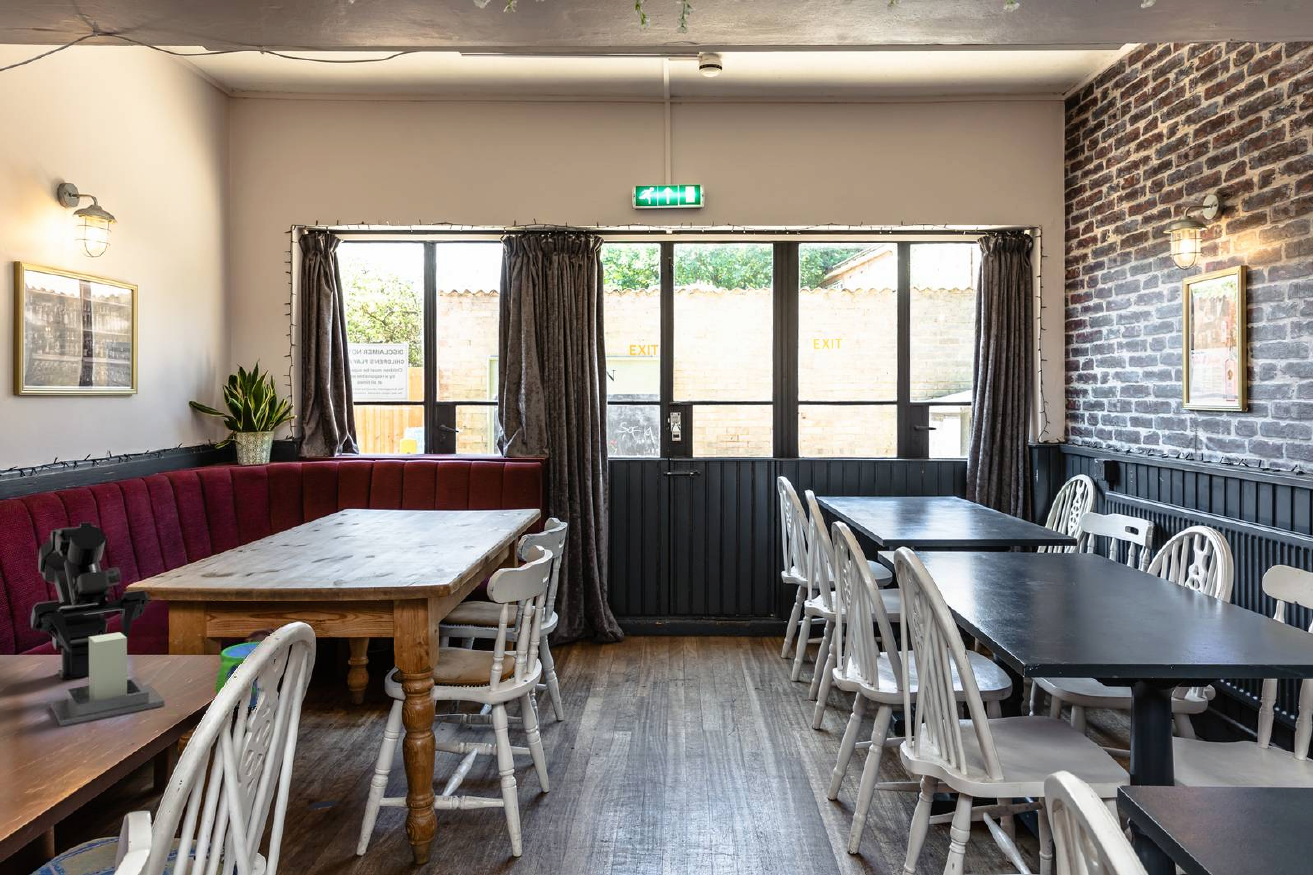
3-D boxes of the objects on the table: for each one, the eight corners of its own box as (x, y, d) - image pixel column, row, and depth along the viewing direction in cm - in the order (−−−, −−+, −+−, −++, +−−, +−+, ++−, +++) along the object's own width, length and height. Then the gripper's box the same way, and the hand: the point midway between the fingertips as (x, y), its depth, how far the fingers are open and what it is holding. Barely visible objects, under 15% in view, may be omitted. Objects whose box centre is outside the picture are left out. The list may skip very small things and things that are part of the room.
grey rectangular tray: (51, 707, 157) (50, 691, 157) (150, 689, 168) (150, 674, 167) (60, 726, 148) (60, 709, 148) (164, 705, 159) (164, 689, 159)
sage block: (89, 701, 158) (88, 636, 157) (120, 694, 161) (119, 632, 161) (95, 708, 154) (95, 642, 154) (127, 701, 158) (126, 637, 157)
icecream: (276, 639, 182) (290, 627, 196) (240, 631, 180) (257, 620, 195) (266, 671, 181) (282, 657, 196) (230, 664, 180) (248, 650, 194)
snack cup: (238, 720, 152) (238, 663, 152) (195, 711, 156) (195, 656, 156) (304, 693, 167) (304, 642, 166) (264, 686, 171) (264, 635, 170)
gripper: (32, 560, 159) (44, 631, 152) (145, 549, 172) (161, 614, 165) (25, 595, 165) (37, 664, 158) (135, 582, 178) (150, 645, 171)
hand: (98, 645), depth 162 cm, fingers open, 9 cm apart
